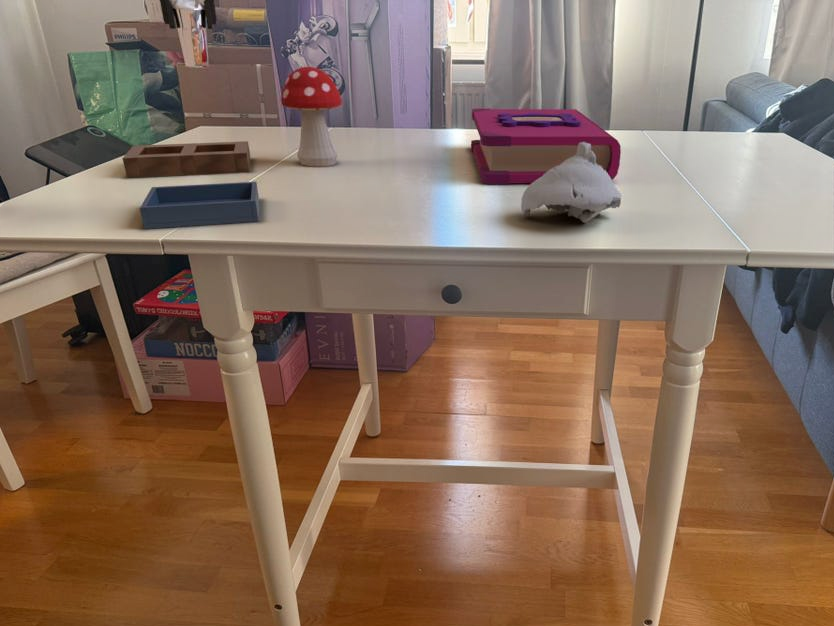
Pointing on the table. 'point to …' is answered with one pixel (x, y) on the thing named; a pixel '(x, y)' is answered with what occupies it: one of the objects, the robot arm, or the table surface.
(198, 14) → the milkshake
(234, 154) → the tray
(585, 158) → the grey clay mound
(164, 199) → the tray
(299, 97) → the decorative mushroom
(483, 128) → the book
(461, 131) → the table surface
